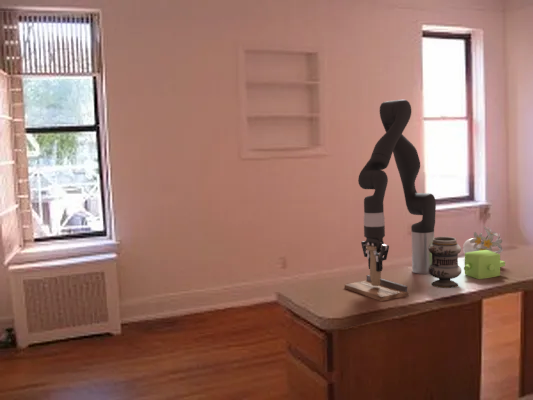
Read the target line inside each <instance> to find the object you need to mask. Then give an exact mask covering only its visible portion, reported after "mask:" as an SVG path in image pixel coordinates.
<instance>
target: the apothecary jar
mask: <svg viewBox="0 0 533 400" xmlns="http://www.w3.org/2000/svg"><path fill="white" fill-rule="evenodd" d="M428 249H429V252H430V253H432V264H431V265H430V266H429V268H428V272H429V273H430V276H432V277H434V278H437V280H434V281H432V282H431V286H433V287H435V288H439V289H450V288H457V287H458V286H459V283H457V282H456V281H454V280H451V279H456V278H458V277H459V276H460V275H461V274H462V268H461V267H460V266H459V263H458V262H459V261H458V260H459V259H458V258H459V257H458V255H459V254H460V252H461V251H462V247H461V246H460V244H458V242H457V238H456V237H452V236H436V237H435V236H434V238H433V242H432V244H431V245H430V246H429V248H428Z"/></svg>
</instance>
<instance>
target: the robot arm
mask: <svg viewBox="0 0 533 400" xmlns="http://www.w3.org/2000/svg"><path fill="white" fill-rule="evenodd" d="M411 116H412V105H411V104H410V102H409V101H408V100H406V99H395V100H388V101H383V102H382V103H381V104H380V106H379V117H380V120H381V123H382V126H383V128H384V131H385V133H384V134H383V135H382V136H381V137H380V139H378V141H377V142H376V143H375V145H374V147H373V150H372V153H371V156H370V158H369V160H368V161H367V162H366V163H365V165H364V166H363V168H362V169H361V171H360V172H359V175H358V182H357V183H358V185H359V187H360V188H361V189H363V190H374V191H373V194H372V195H368V196H367V195H366V196H365V197H364V199H363V236H364V238H366V239H365V240H364V241H361V243H360V244H361V249H362V252H363V256H364V258H367V262H368V264H367V265H368V269H369V270H370V251H369V250H367V249H366V245H368V246H373V247H374V248H375V247H376V249H377V251H376V249H375V250H374V251H373V252H374V255H375V257H376V261H377V262H376V271H378V272H380V271H381V272H382V271H383V267H384V266H383V262H384V261H386V260H387V258H388V254H389V249H390V246H389V244H385V242H384V238H385V236H386V235H385V234H386V230H385V229H386V228H385V223H386V221H385V214H384V199H385V194H386V190H387V186H388V182H389V181H388V179H389V178H388V175H387V173H386V172H385V171H384V170H385V169H387V168H388V166H389V164H390V161H391V159H392V155H393V157H394V161H395V165H396V168H397V170H398V173H399V177H400V181H401V185H402V190H403V194H404V201H405V206H406V209H407V211H408V213H409V214H411V215H415V216H422V219H421V220H420V221H418V222H416V223H413V224H412V225H411V226H410V231H411V235H410V237H411V265H412V266H411V268H412V269H411V271H412V273H414V274H420V275H428V274H430V273H429V272H428V268H429V266H430V265H431V264H432V253H430V252H429V249H428V248H429V246H430V245H431V244H432V242H433V238H435V226H436V213H437V212H436V209H437V208H436V207H437V205H436V197H435V196H434V194H433V193H429V192H425V193H424V192H418V191H417V189H416V179H417V177H418V175H419V173H420V169H421V161H420V157H419V153H418V151H417V148H416V147H415V146H414V145H413V143H412V142H411V141H410V140H409V139H408V138H407V137H406V136H405V135H403V133H404V131H405V129H406V128H407V125H408V123H410V120H411ZM377 252H380V253H377ZM378 255H380V257H379V256H378Z"/></svg>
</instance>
